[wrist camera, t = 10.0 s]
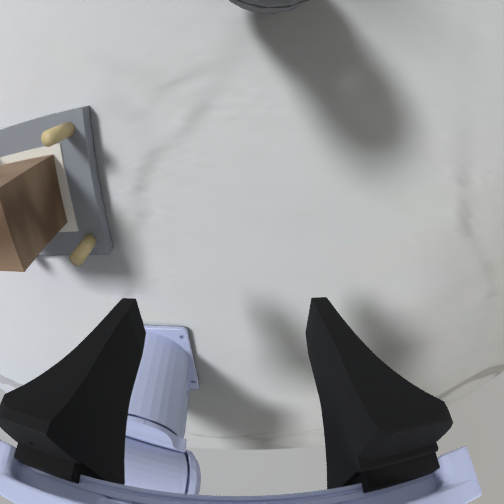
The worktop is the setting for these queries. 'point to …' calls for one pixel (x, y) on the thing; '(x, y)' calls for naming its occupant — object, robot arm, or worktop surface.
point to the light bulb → (268, 5)
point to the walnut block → (28, 210)
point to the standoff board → (66, 178)
